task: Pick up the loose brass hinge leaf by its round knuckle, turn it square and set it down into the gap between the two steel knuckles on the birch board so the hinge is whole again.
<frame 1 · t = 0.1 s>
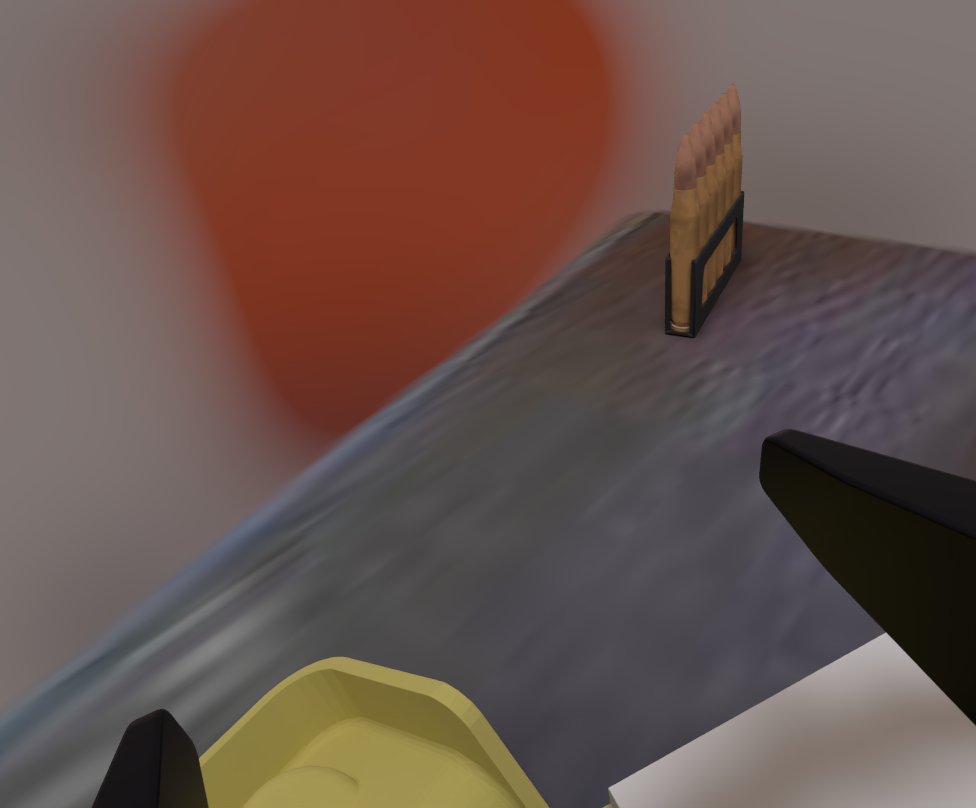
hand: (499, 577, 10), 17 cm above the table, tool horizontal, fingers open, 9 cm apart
ammunition clip: (705, 297, 47), on the table
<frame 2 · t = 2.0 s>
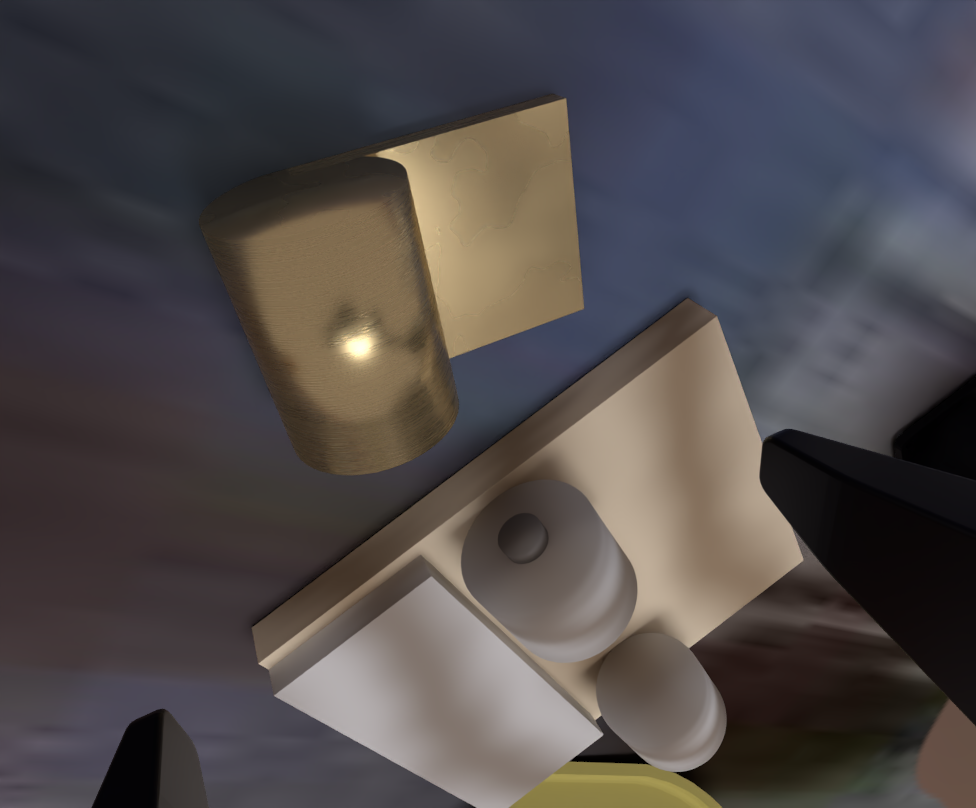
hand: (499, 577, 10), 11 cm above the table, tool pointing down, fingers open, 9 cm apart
hinge base: (565, 575, 28), on the table
loose leaf: (323, 282, 18), on the table
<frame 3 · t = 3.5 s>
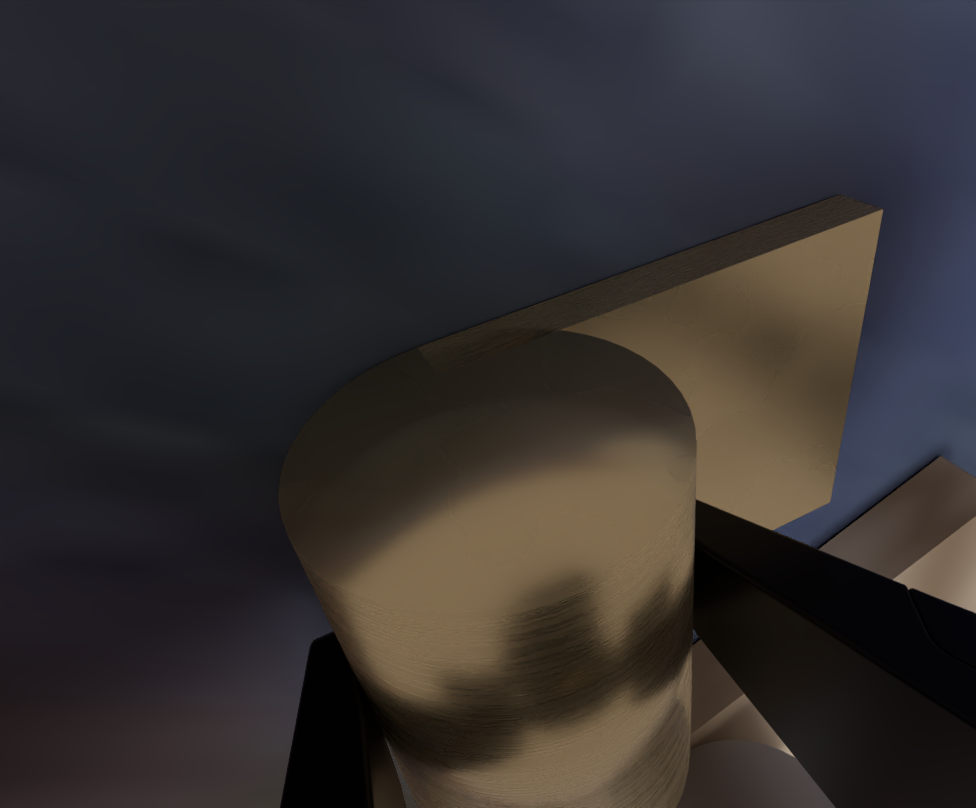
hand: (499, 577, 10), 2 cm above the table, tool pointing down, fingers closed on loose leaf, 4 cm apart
hinge base: (717, 790, 21), on the table
loose leaf: (459, 508, 11), on the table, touching gripper
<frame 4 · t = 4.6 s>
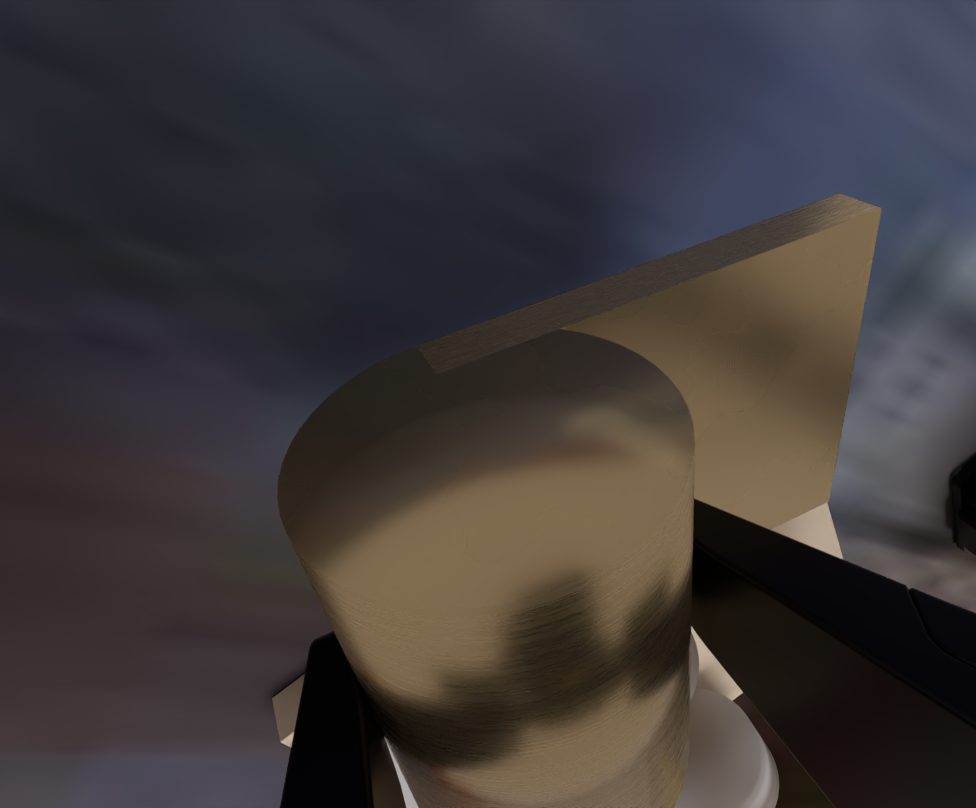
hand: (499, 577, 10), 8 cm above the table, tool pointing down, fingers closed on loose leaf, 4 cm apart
hinge base: (606, 628, 26), on the table
loose leaf: (458, 507, 11), point 6 cm above the table, touching gripper
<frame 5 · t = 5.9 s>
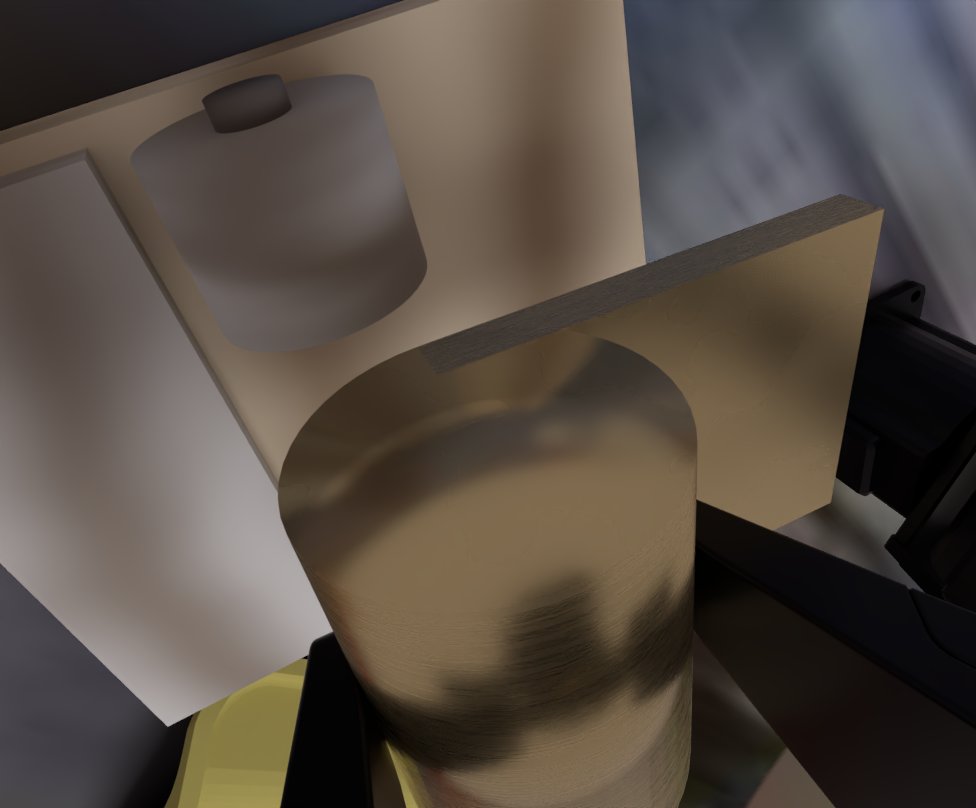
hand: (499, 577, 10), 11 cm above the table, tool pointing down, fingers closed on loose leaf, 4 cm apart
hinge base: (345, 361, 20), on the table
plastic component: (358, 767, 31), on the table
loose leaf: (459, 508, 11), point 10 cm above the table, touching gripper
when the fingers open (4 cm above the table, at t = 7.6 s): loose leaf stays where it is, resting on hinge base.
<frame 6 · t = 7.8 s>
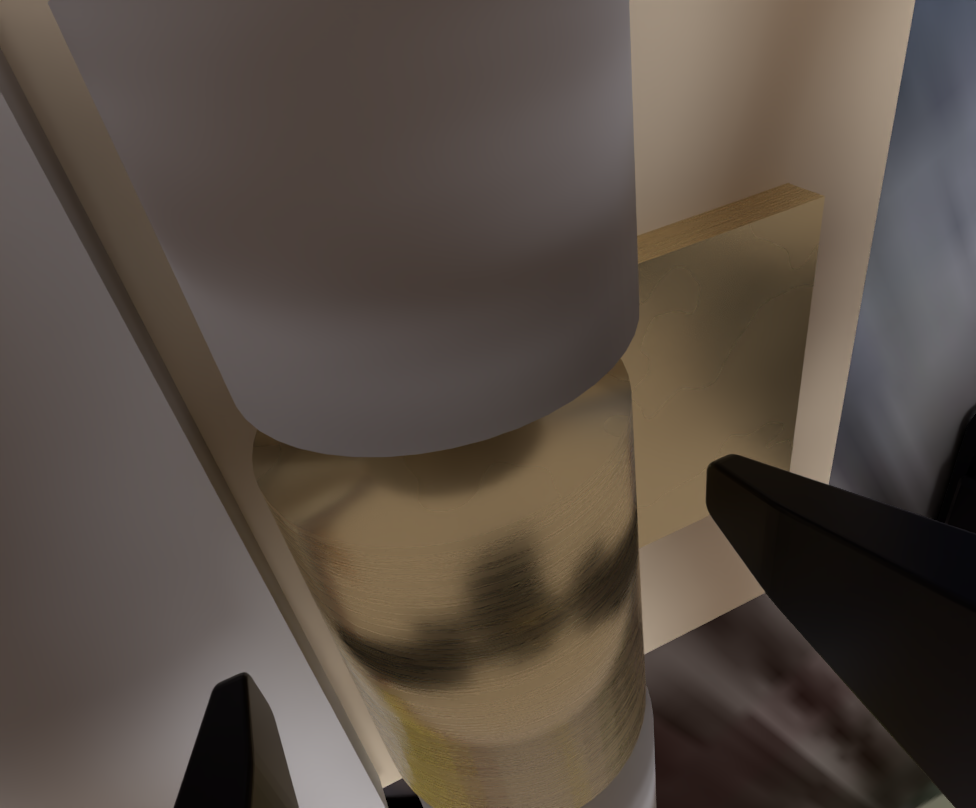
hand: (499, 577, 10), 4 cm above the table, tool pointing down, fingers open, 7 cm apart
hinge base: (409, 426, 13), on the table
loose leaf: (430, 478, 12), point 1 cm above the table, touching hinge base
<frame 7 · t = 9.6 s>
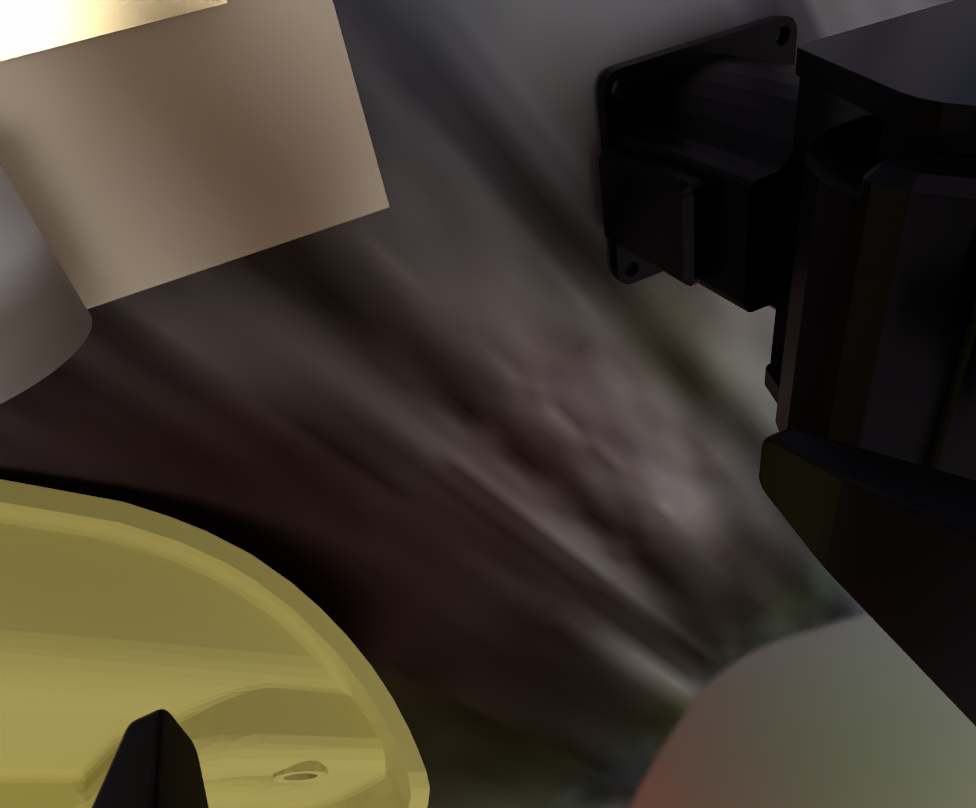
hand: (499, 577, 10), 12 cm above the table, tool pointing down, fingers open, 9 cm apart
plastic component: (53, 647, 22), on the table
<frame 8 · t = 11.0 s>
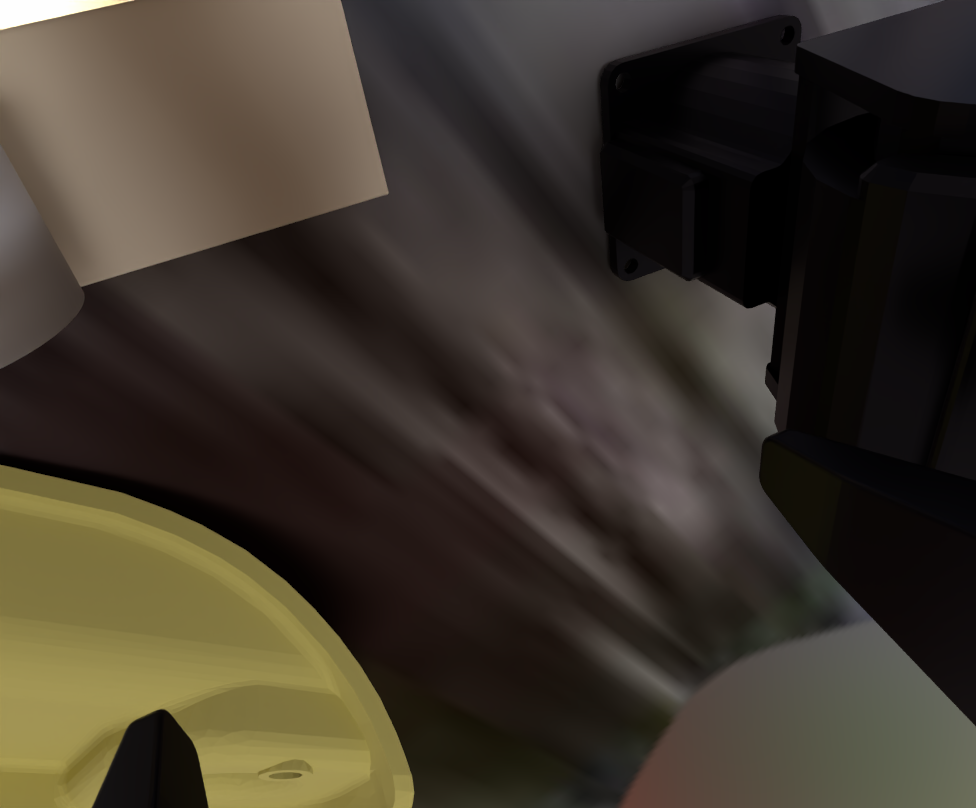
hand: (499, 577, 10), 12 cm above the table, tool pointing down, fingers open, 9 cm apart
plastic component: (42, 636, 22), on the table
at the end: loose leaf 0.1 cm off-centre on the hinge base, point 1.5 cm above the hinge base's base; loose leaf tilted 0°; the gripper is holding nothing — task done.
